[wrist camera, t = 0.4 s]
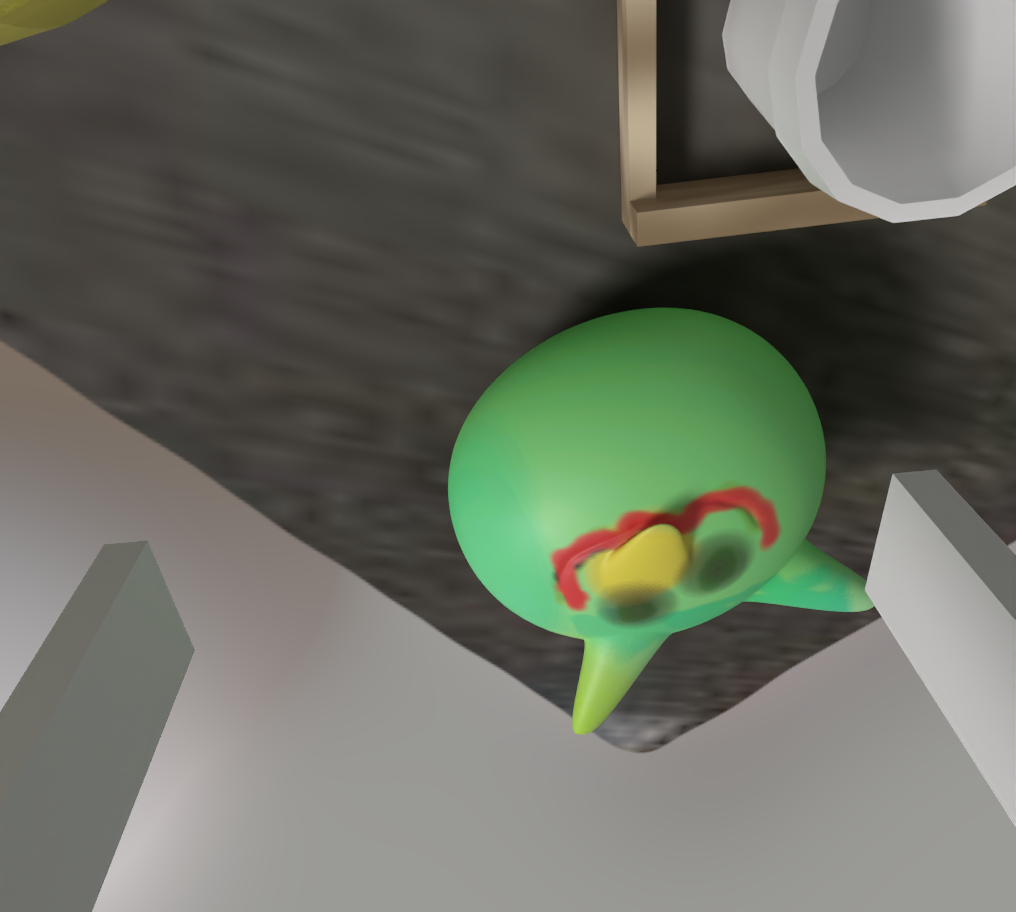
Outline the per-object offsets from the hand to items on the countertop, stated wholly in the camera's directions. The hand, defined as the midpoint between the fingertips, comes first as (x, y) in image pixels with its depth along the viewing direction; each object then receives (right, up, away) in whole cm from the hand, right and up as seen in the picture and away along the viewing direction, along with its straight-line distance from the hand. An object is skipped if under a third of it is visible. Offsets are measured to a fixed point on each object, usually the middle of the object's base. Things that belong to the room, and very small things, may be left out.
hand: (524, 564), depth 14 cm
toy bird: (+6, +4, +30) cm, 30 cm away
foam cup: (+12, +21, +19) cm, 31 cm away
